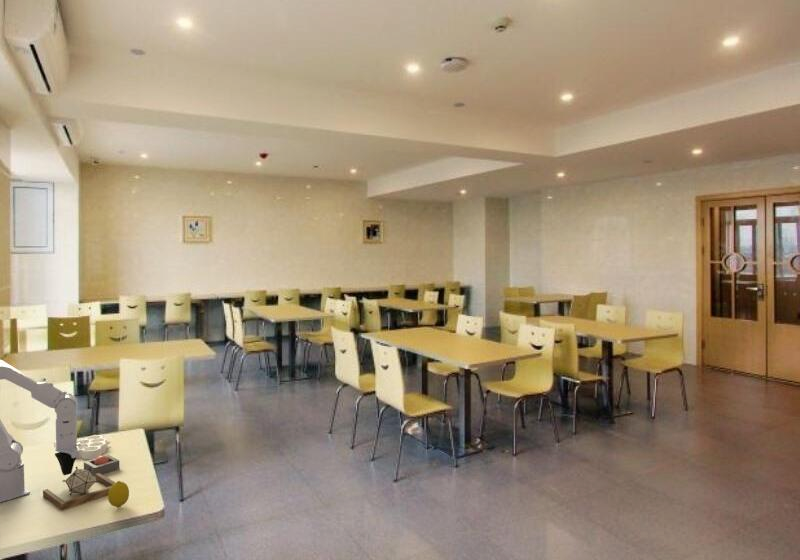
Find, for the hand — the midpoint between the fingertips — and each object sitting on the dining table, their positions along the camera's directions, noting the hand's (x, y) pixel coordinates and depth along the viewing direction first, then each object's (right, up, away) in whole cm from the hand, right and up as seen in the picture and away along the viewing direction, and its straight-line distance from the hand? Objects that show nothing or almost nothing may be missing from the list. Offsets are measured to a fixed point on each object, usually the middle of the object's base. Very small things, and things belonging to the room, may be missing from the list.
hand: (67, 473), depth 172 cm
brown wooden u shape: (+8, -4, -6) cm, 11 cm away
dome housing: (+5, -3, +12) cm, 13 cm away
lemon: (+25, -5, -15) cm, 29 cm away
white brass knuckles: (-10, -2, +29) cm, 30 cm away
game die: (+8, -4, -6) cm, 11 cm away
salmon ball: (+5, -2, +12) cm, 13 cm away
